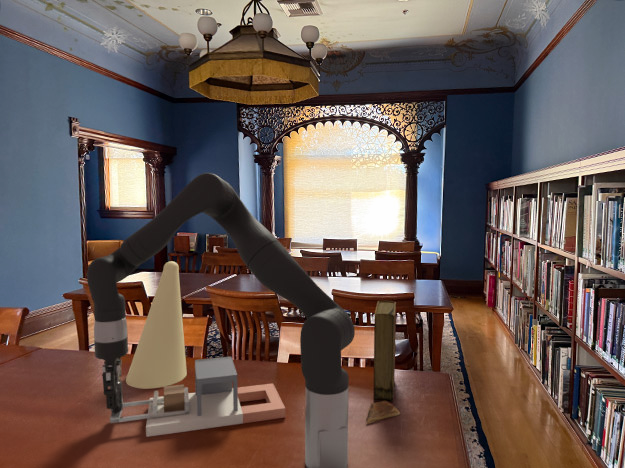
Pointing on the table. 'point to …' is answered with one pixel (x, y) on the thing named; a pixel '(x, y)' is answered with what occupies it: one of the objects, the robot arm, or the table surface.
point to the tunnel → (215, 379)
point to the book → (384, 350)
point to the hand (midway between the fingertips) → (113, 402)
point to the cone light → (161, 337)
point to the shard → (381, 411)
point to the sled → (118, 410)
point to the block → (174, 398)
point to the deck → (219, 411)
